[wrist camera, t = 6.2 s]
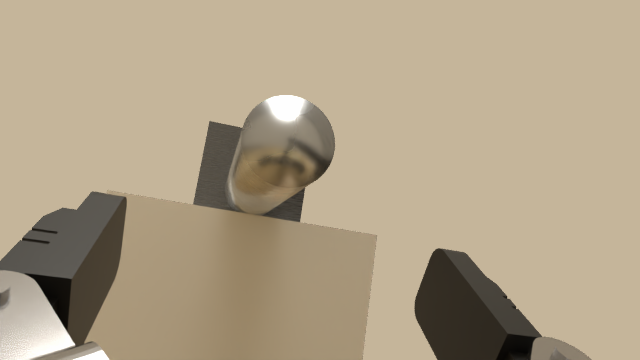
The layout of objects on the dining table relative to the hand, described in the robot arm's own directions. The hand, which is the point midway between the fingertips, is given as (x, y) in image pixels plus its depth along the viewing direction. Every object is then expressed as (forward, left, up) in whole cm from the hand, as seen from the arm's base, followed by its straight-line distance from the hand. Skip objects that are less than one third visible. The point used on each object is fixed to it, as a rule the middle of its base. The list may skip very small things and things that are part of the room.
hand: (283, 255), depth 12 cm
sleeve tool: (0, -12, +2) cm, 12 cm away
